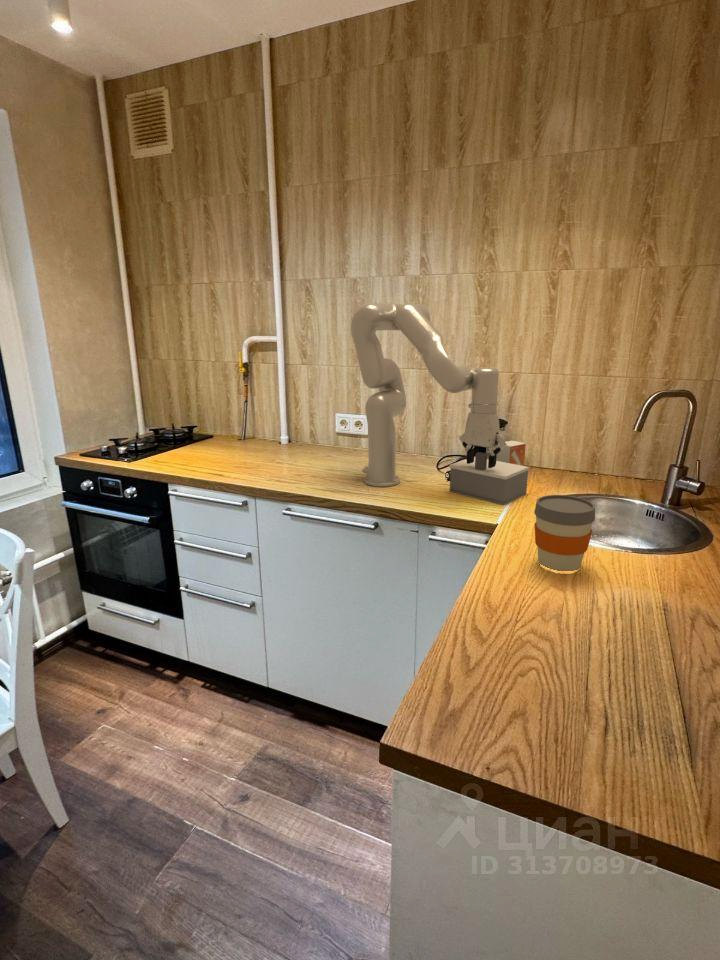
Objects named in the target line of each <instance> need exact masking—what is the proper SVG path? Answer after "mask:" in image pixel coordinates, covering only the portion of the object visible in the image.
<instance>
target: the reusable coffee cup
mask: <svg viewBox="0 0 720 960" xmlns="http://www.w3.org/2000/svg"><path fill="white" fill-rule="evenodd" d="M533 513H534V516H535V523H534V539H535V540H534V542H535V545H536V546H537V562H538V561H539V563H540V564H541V565H543V566H545V567H547V568H550V569H553V570H557V571H574V570H578V569H579V568H580V569H581V567H582V562H583V559H584V556H585V555H584V554H585V553H587V551H588V548H589V544H590V540H591V537H592V534H593V530H592V526H593V523H594V522H595V519H596V505H595V503H593V502H592V501H590V500H588V499H585V498H582V497H578V496H573V495H568V494H567V495H565V494H549V495H542V496H540V497H539V498H537V499H536V502H535V509H534V512H533Z"/></svg>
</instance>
